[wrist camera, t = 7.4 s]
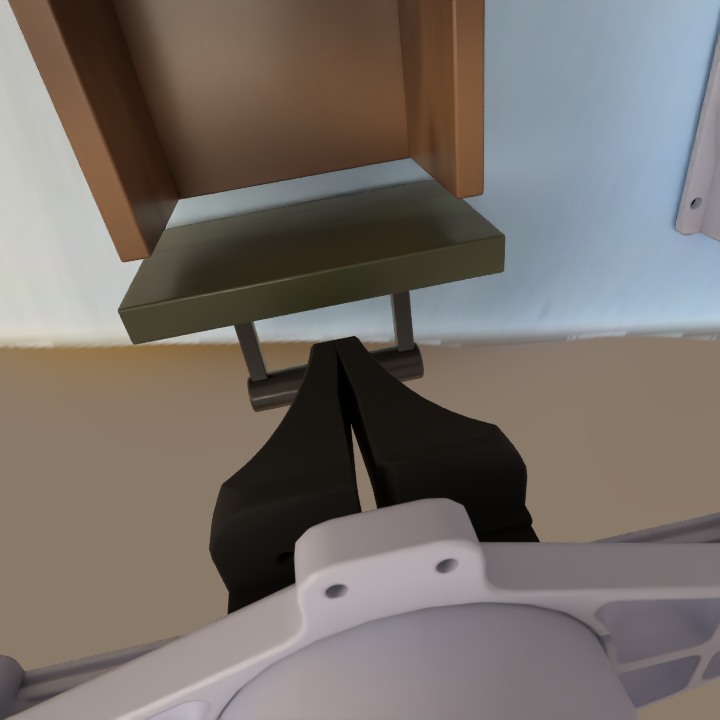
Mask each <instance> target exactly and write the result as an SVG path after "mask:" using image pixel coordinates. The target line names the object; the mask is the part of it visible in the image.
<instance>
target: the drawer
mask: <svg viewBox="0 0 720 720" xmlns="http://www.w3.org/2000/svg"><path fill="white" fill-rule="evenodd" d="M8 1H9V3H10V5H11V8H12V10H13V12H14V15H15V17H16V19H17V22H18V24H19V26H20V29H21V31H22V33H23V35H24V38H25V40H26V42H27V45H28V47H29V49H30V52H31V54H32V56H33V59H34V61H35V63H36V65H37V68H38V70H39V72H40V75H41V77H42V79H43V82H44V84H45V86H46V88H47V91H48V93H49V95H50V98H51V100H52V102H53V105H54V107H55V109H56V112H57V114H58V116H59V118H60V121H61V123H62V125H63V128H64V130H65V132H66V135H67V137H68V139H69V142H70V144H71V146H72V148H73V151H74V153H75V155H76V158H77V160H78V162H79V165H80V167H81V169H82V172H83V174H84V176H85V178H86V181H87V183H88V185H89V188H90V190H91V192H92V195H93V197H94V199H95V202H96V204H97V206H98V208H99V211H100V213H101V215H102V218H103V220H104V222H105V225H106V227H107V229H108V232H109V234H110V236H111V238H112V241H113V243H114V245H115V248H116V250H117V252H118V255H119V257H120V259H121V261H122V262H129V261H134V260H139V259H144V260H143V262H142V264H141V266H140V268H139V270H138V271H137V273H136V275H135V277H134V279H133V281H132V283H131V285H130V287H129V289H128V291H127V293H126V295H125V297H124V299H123V301H122V303H121V304H120V306H119V308H118V313H119V315H120V317H121V319H122V321H123V324H124V326H125V328H126V330H127V332H128V334H129V336H130V339H131V341H132V343H133V344H141V343H146V342H151V341H156V340H161V339H166V338H171V337H176V336H181V335H186V334H191V333H196V332H202V331H207V330H212V329H217V328H222V327H227V326H232V325H234V327H235V330H236V333H237V336H238V339H239V342H240V346H241V349H242V352H243V355H244V358H245V361H246V364H247V367H248V370H249V373H250V376H248V380H247V384H248V392H249V397H250V401H251V405H252V407H253V409H254V411H255V412H259V411H264V410H269V409H274V408H279V407H283V406H288V405H291V404H292V402H293V400H294V398H295V396H296V394H297V392H298V389H299V387H300V385H301V382H302V379H303V377H304V374H305V371H306V368H307V365H308V364H304V365H300V366H295V367H290V368H285V369H280V370H275V371H270V372H268V369H267V366H266V362H265V359H264V355H263V352H262V349H261V345H260V342H259V338H258V335H257V332H256V328H255V325H254V321H257V320H262V319H267V318H273V317H278V316H283V315H288V314H293V313H298V312H303V311H308V310H313V309H318V308H323V307H328V306H333V305H338V304H344V303H349V302H354V301H359V300H364V299H369V298H374V297H379V296H384V295H389V294H390V297H391V306H392V315H393V324H394V332H395V341H396V346H393V347H388V348H383V349H378V350H374V351H368V352H369V353H370V354H371V355H372V356H373V357H374V358H375V359H376V360H377V361H378V362H379V363H380V364H381V365H382V366H383V367H384V368H385V369H386V370H387V371H388V372H389V373H390V374H392V375H393V376H394V377H395V378H396V379H398V380H399V381H400V382H404V381H409V380H413V379H418V378H422V377H423V374H424V368H423V361H422V357H421V353H420V349H419V347H418V345H417V343H416V342H414V340H413V328H412V317H411V306H410V294H409V290H414V289H420V288H425V287H430V286H435V285H440V284H445V283H450V282H455V281H460V280H465V279H470V278H475V277H480V276H485V275H491V274H496V273H501V272H503V271H504V262H505V235H504V234H503V233H502V232H500V231H499V230H498V229H497V228H496V227H495V226H493V225H492V224H491V223H490V222H489V221H488V220H487V219H485V218H484V217H483V216H482V215H481V214H480V213H478V212H477V211H476V210H475V209H474V208H473V207H471V206H470V205H469V204H468V203H467V202H466V201H464V200H463V198H468V197H473V196H479V195H482V194H483V192H484V22H485V0H8ZM405 158H411V159H413V160H414V161H415V162H416V163H417V164H418V165H419V166H420V167H422V168H423V169H424V170H425V171H426V172H427V173H428V174H430V175H431V176H432V177H433V178H434V180H428V181H423V182H417V183H412V184H407V185H401V186H396V187H390V188H385V189H380V190H374V191H369V192H363V193H358V194H353V195H347V196H342V197H336V198H331V199H326V200H320V201H315V202H309V203H304V204H299V205H293V206H288V207H282V208H277V209H271V210H266V211H261V212H255V213H250V214H244V215H239V216H234V217H228V218H223V219H217V220H212V221H207V222H201V223H196V224H190V225H185V226H180V227H174V228H169V229H165V227H166V225H167V223H168V221H169V219H170V217H171V215H172V213H173V211H174V208H175V206H176V204H177V202H178V200H180V199H185V198H191V197H196V196H202V195H207V194H213V193H218V192H224V191H229V190H235V189H240V188H246V187H251V186H257V185H262V184H268V183H273V182H279V181H284V180H290V179H295V178H301V177H306V176H312V175H317V174H323V173H328V172H334V171H339V170H345V169H350V168H356V167H361V166H367V165H372V164H378V163H383V162H389V161H394V160H400V159H405Z"/></svg>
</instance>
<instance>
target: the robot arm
mask: <svg viewBox="0 0 720 720" xmlns="http://www.w3.org/2000/svg"><path fill="white" fill-rule="evenodd" d="M694 199H695V202H694V204H693V205H692V206H691V203H692V201H693V200H694ZM676 230H677V232H679V233H681V234H683V235H690V234H695V233H702V234H704V235H706V236H709V237H711V238H713V239H715V240H717V241H719V242H720V32H719V36H718V41H717V45H716V50H715V54H714V58H713V63H712V67H711V71H710V76H709V80H708V85H707V89H706V93H705V98H704V102H703V107H702V111H701V115H700V120H699V124H698V129H697V133H696V137H695V142H694V146H693V150H692V155H691V159H690V164H689V168H688V172H687V177H686V181H685V186H684V190H683V194H682V199H681V203H680V208H679V212H678V216H677V221H676ZM351 425H352V428H353V431H354V434H355V436H356V439H357V442H358V445H359V448H360V451H361V454H362V457H363V460H364V463H365V466H366V469H367V472H368V475H369V478H370V481H371V485H372V488H373V492H374V496H375V501H376V505H377V509H376V510H371V511H366V512H362V511H361V506H360V501H359V496H358V489H357V482H356V472H355V462H354V452H353V441H352V430H351ZM526 485H527V470H526V465H525V463H524V462H523V459H522V458H521V456H520V454H519V453H518V451H517V450H516V448H515V447H514V445H513V444H512V443H511V442H510V441H509V439H508V438H507V437H506V436H505V434H504V433H503V432H502V431H501V430H500V429H499V428H498V427H497V426H496V425H494V424H490V423H486V422H482V421H479V420H475V419H471V418H468V417H466V416H463V415H460V414H457V413H455V412H452V411H450V410H447V409H445V408H442V407H441V406H439V405H437V404H435V403H433V402H431V401H429V400H427V399H425V398H423V397H421V396H420V395H418V394H417V393H415V392H414V391H412V390H411V389H409V388H408V387H406V386H405V385H404V384H403V383H401V382H400V381H399V380H398V379H396V378H395V377H394V376H393V375H392V374H390V373H389V372H388V371H387V370H386V369H385V368H384V367H383V366H382V365H381V364H380V363H379V362H378V361H377V360H376V359H375V358H374V357H373V356H372V355H371V354H370V353H369V352H368V351H367V349H366V348H365V347H364V346H363V344H362V343H361V342H360V340H359V339H358V338H357V337H355V336H352V337H347V338H342V339H337V340H332V341H327V342H322V343H317V344H314V345H313V346H312V348H311V352H310V357H309V361H308V365H307V368H306V371H305V374H304V377H303V379H302V382H301V385H300V387H299V389H298V392H297V394H296V396H295V398H294V400H293V402H292V404H291V406H290V408H289V410H288V412H287V413H286V415H285V417H284V418H283V420H282V422H281V423H280V425H279V426H278V428H277V429H276V430H275V432H274V433H273V435H272V436H271V438H270V439H269V440H268V441H267V443H266V444H265V445H264V446H263V447H262V448H261V449H260V451H259V452H258V453H257V454H256V455H255V456H254V457H253V458H252V459H251V460H250V461H249V462H248V463H247V464H246V465H245V466H244V467H242V468H241V469H240V470H239V471H238V472H236V473H235V474H234V475H233V476H232V477H231V478H230V479H228V480H227V481H226V482H224V483H223V484H222V486H221V489H220V492H219V495H218V498H217V502H216V506H215V509H214V513H213V519H212V525H211V536H210V546H209V550H210V553H211V557H212V560H213V562H214V564H215V565H216V568H217V570H218V572H219V574H220V576H221V578H222V580H223V582H224V583H225V585H226V587H227V589H228V591H229V602H228V615H227V616H224V617H222V618H220V619H218V620H216V621H214V622H212V623H210V624H207V625H205V626H203V627H201V628H199V629H197V630H195V631H193V632H191V633H188V634H186V635H182V636H177V637H173V638H168V639H164V640H160V641H156V642H151V643H147V644H142V645H138V646H133V647H129V648H125V649H120V650H116V651H112V652H107V653H103V654H99V655H94V656H90V657H86V658H81V659H77V660H72V661H68V662H64V663H59V664H55V665H51V666H46V667H42V668H38V669H33V670H29V671H24V670H23V668H22V667H21V666H20V664H19V663H18V662H17V661H16V660H14V659H13V658H11V657H9V656H5V655H0V720H641V718H640V716H639V714H638V713H637V711H638V710H641V709H643V708H646V707H648V706H651V705H654V704H656V703H659V702H661V701H664V700H667V699H669V698H672V697H675V696H677V695H680V694H682V693H685V692H688V691H690V690H693V689H695V688H698V687H700V686H703V685H706V684H708V683H711V682H714V681H716V680H719V679H720V512H719V513H714V514H710V515H706V516H702V517H697V518H692V519H688V520H684V521H679V522H675V523H671V524H667V525H662V526H658V527H653V528H649V529H645V530H640V531H636V532H631V533H627V534H623V535H618V536H614V537H610V538H605V539H601V540H596V541H592V542H588V543H557V542H556V543H555V542H553V543H550V542H546V543H545V542H540V541H539V539H538V537H537V536H536V534H535V532H534V530H533V528H532V526H531V524H532V518H531V515H530V513H529V511H528V510H527V508H526V506H525V499H526Z"/></svg>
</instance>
